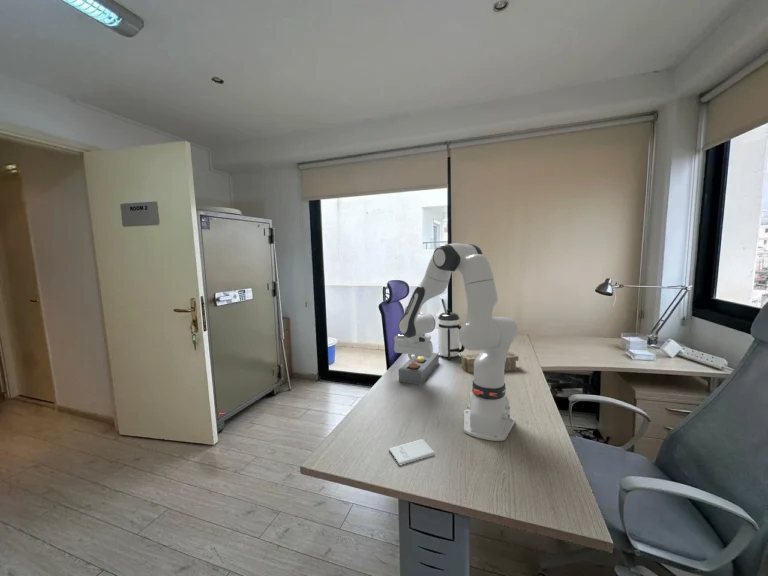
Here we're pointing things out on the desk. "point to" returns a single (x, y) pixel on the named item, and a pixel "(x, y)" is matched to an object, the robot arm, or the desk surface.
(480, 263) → the robot arm
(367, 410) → the desk surface
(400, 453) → the external hard drive
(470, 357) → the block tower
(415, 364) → the brick button
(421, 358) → the ochre button
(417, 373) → the button panel
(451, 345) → the coffee press
